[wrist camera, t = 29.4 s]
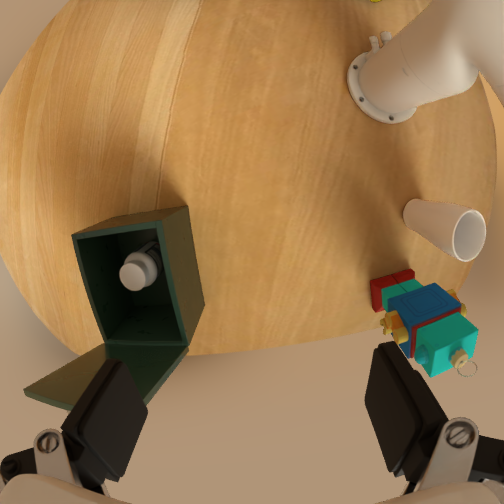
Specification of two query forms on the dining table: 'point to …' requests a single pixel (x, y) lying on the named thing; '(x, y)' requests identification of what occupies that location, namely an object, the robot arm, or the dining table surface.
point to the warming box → (148, 298)
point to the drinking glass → (447, 226)
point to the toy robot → (425, 321)
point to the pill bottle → (142, 266)
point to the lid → (86, 366)
